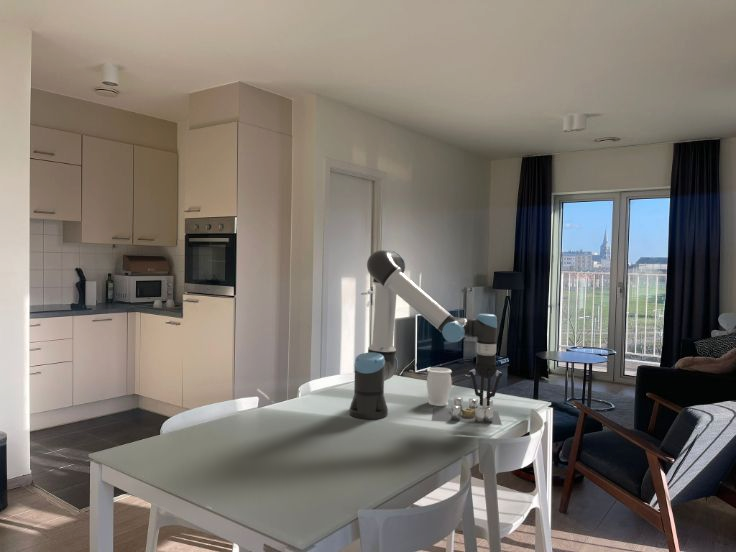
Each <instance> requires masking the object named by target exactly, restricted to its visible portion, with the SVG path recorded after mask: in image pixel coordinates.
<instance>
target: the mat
mask: <svg viewBox="0 0 736 552" xmlns="http://www.w3.org/2000/svg"><path fill="white" fill-rule="evenodd" d="M499 414H500V413H499V412H498V411H497V410H493V422H492V423H476V422H475V417H472V418H468V417H464V416H463V415H462V411H461V419H460V420H459V421H454V420H451V407H450V408H449V407H446V408H445V407H434V406H433V408H432V415H431V421H432V422H445V423H446V422H447V423H460V424H461V423H463V424H465V423H466V424H478V425H479V424H481V425H497V426H503V425H502V421H501V416H500V415H499Z"/></svg>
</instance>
